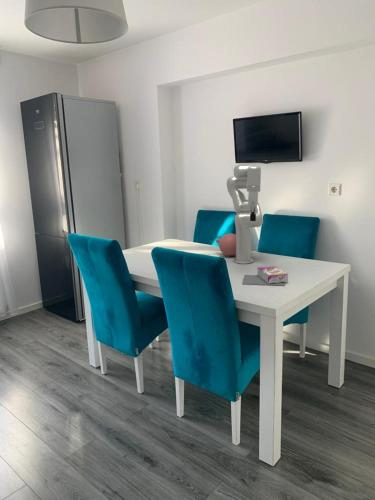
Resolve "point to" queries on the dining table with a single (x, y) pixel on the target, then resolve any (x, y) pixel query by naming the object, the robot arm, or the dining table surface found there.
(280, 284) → the rubber mat
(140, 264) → the dining table surface
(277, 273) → the candy bar box
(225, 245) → the balloon
